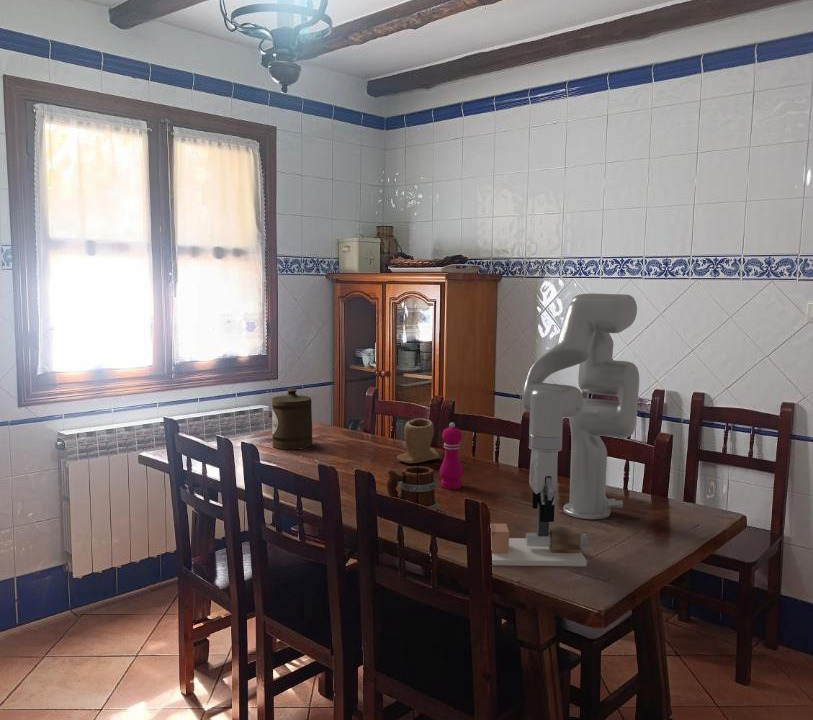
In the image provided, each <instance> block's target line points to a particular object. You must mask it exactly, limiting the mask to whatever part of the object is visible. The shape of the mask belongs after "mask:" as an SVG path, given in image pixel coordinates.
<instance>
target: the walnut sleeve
mask: <svg viewBox="0 0 813 720" xmlns="http://www.w3.org/2000/svg"><path fill="white" fill-rule="evenodd" d="M549 533H550V534H551V536H552V537H551V547H549V549H550V551H551V553H580V551H581V547H580V536H581V534H580V533H581V532H580V531H579V529H578V528H577V527H576V526H575V527H574V526H549Z"/></svg>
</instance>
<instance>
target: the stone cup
mask: <svg viewBox="0 0 813 720" xmlns="http://www.w3.org/2000/svg"><path fill="white" fill-rule="evenodd" d="M434 428H435V427H434V423H433V421H431V420H430V419H427V418H421V417H420V418H414V419H411V420H407V421H406V423H405V424H404V428H403V429H404V430H403V438H404V443H405V447H406V452H403V453H401V454H398V455H397V456H396V458H397V460H398V461H400V462H402V463H406V464H419V463H423V462H424V463H425V462H429V461H432V460H438V459H440V455H439V453H438V452H437V451H436V449H435V448H433V447H431V445H432V440H433V437H434V434H435V432H434V431H435V429H434Z"/></svg>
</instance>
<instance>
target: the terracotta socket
mask: <svg viewBox="0 0 813 720" xmlns="http://www.w3.org/2000/svg"><path fill="white" fill-rule="evenodd" d="M489 523H490V522H489ZM490 528H491V550H492V553H509V538H510V531H509V528H508V525H507V523H490Z"/></svg>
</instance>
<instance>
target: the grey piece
mask: <svg viewBox="0 0 813 720" xmlns="http://www.w3.org/2000/svg"><path fill="white" fill-rule="evenodd" d="M540 504H541V503H537V509H536V516H537V517H536V532H525V538H526V545H527V546H540V547H551V537H552V536H551V534H550V533H549V527H550V522H541V521H540V520H539V517H540ZM580 534H581V536H580V548H588V547H589V545H588V543H589V536H588V535H587V534H586V533H581V532H580Z"/></svg>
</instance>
